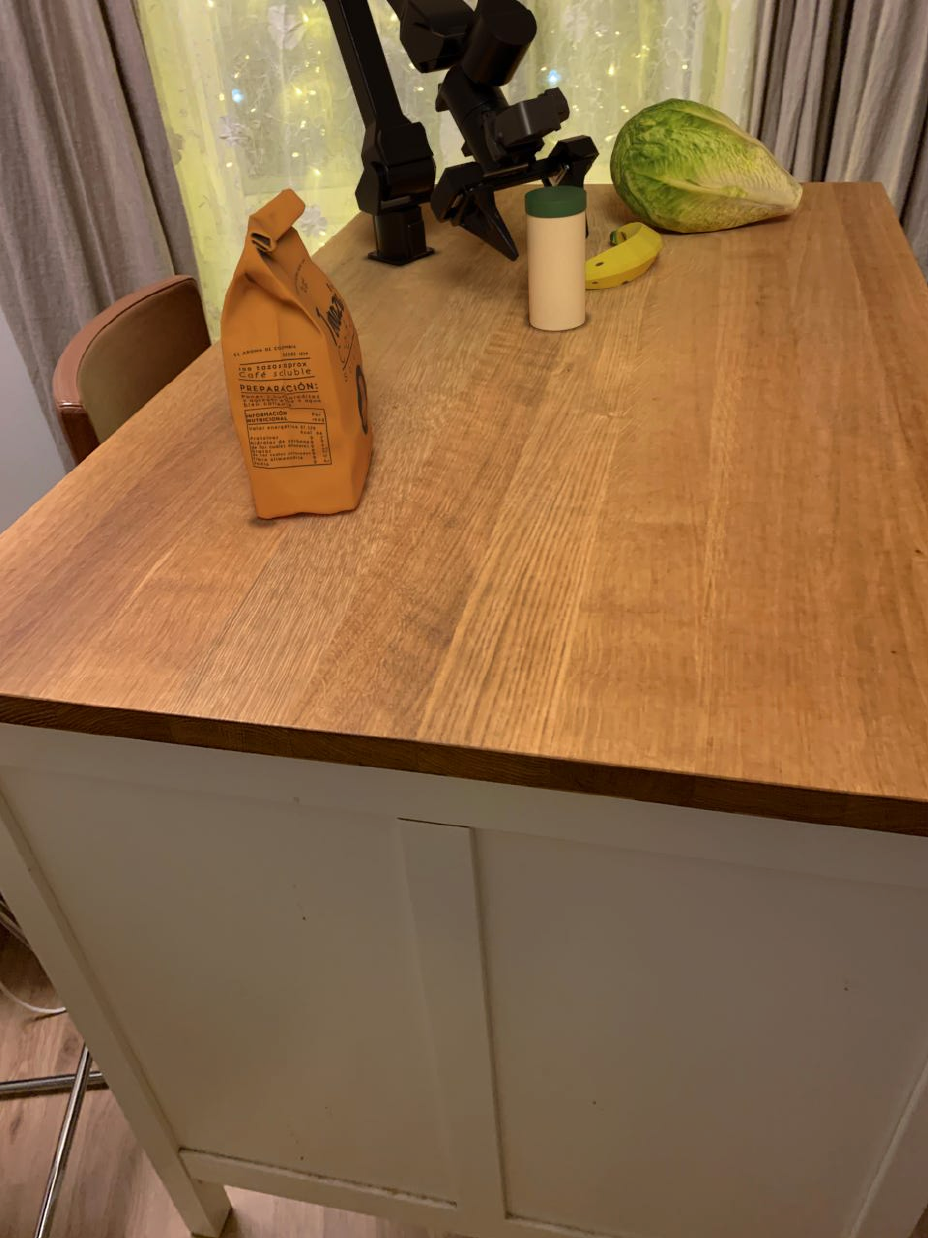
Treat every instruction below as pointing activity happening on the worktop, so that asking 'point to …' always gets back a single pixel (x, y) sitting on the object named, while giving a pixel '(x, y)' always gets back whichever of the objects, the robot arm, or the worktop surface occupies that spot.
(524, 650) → the worktop surface
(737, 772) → the worktop surface
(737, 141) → the lettuce
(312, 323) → the coffee package
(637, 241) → the banana
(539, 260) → the cheese shaker
